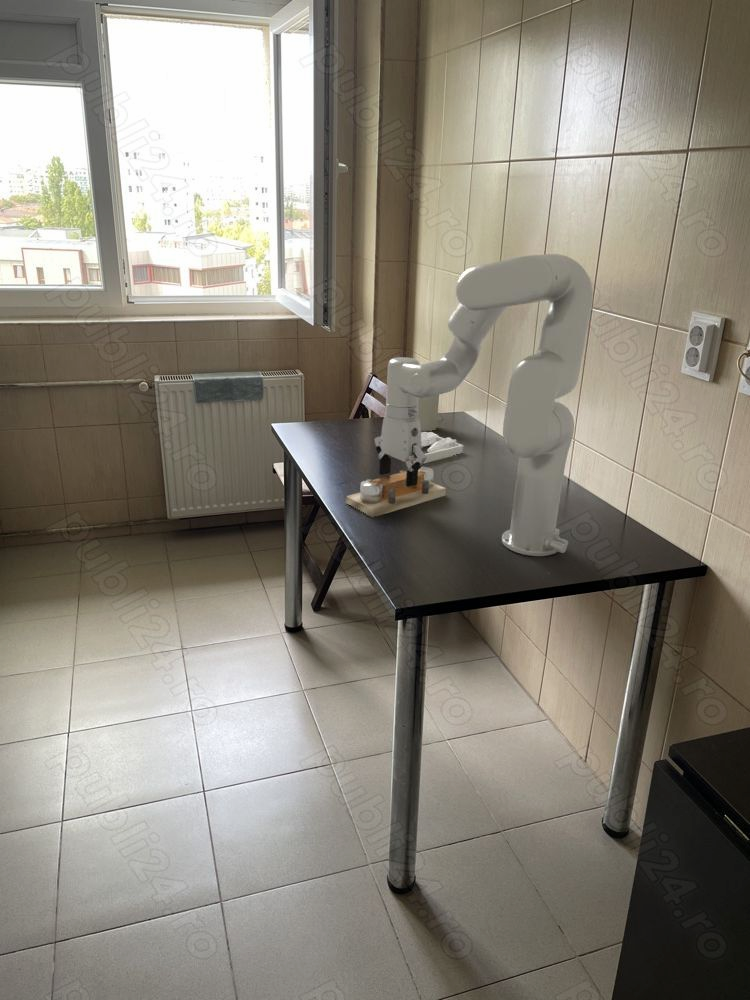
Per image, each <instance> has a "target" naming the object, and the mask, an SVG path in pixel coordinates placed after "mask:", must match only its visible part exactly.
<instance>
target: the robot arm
mask: <svg viewBox="0 0 750 1000" xmlns="http://www.w3.org/2000/svg"><path fill="white" fill-rule="evenodd" d="M455 288H456V289H455V292H456V293H455V294H456V298H457V301H458V305H457V307H456V308H455V309H454V311H453V313H452V314H451V315H450V316H449V318H448V321H447V328H448V329H449V332H450V333H451V334H452V335H453V337H454V338H453V340H452V343H451V345H450V346H449V348H448V350H447V351H445V353H444V355H443V356H442V358H441V359H440V360H439V359H438V360H436V361H431V362H428V363H427V362H426V363H422V364H420V361H419V360H418V359H415V358H413V357H408V356H407V357H406V356H404V357H403V356H402V357H401V356H399V357H394V358H391V359H389V361H388V364H387V374H386V377H387V378H386V397H385V401H386V402H385V414H384V416H383V420H382V424H381V425H382V426H381V431H380V432H381V433H380V434H381V435H380V436H377V437H375V438H374V443H375V449H376V452H377V457H378V459H379V469H378V471H379V473H378V474H379V476H380V475H381V476H383V475H387V474H390V473H391V469H392V468H391V467H392V458H394V459H397V460H399V461H401V462H404V463H405V464H406V467H407V468H408V470H406V471H407V474H406V486H407V487H410V486H413V485H416V484H417V480H418V470H419V469H420V468H421V467H424V464H425V463H424V462H425V460H426V455H425V454H426V453H425V452H423V450H422V448H421V433H422V431H421V427H420V421H419V419H417V417H418V415H419V412H418V398H422V399H426V398H431V397H434V396H437V395H439V396H440V395H442V394H446V393H447V394H448V393H450V392H453V391H454V390H455V389H457V388H458V387H459V386H460V385H461V384H462V383H463V382H464V380H465V379H466V377H468V375H469V373H471V371H472V370H473V368H474V366H475V365H476V363H477V362H478V359H479V355H480V352H481V348H482V347H481V346H482V342H483V341H484V339H485V338H486V336H487V335H488V334H489V332H490V331H491V329H492V328H493V327H494V325H495V324H496V322H497V321H498V320H499V318H500V317H501V316H502V314H503V313H504V312H505V310H506V309H507V307H513V306H519V305H520V306H521V305H528V304H534V303H540V302H545V301H548V302H549V306H548V310H547V313H546V315H545V317H544V320H543V322H542V326H541V334H540V339H539V344H538V349H537V351H536V352H535V353H534V354H530V355H528V356H525V358H523V359H522V360H520V362H518V364H517V365H516V366H515V367H514V369H513V372H512V375H511V377H510V382H509V386H508V390H507V391H508V392H507V397H506V398H507V399H506V406H505V411H504V417H503V423H502V425H503V427H502V437H503V441H504V445H505V446H506V448H507V450H508V451H509V452H510V453H511V454H512V455H513V456H515V457H517V458H519V459H518V463H517V469H516V470H517V471H516V477H515V478H516V479H515V485H514V487H515V488H514V492H513V493H514V495H513V500H512V501H513V502H512V503H513V504H512V510H511V517H510V519H511V521H510V526H509V528H510V529H507V530H505V531H504V532H503V533H502V535H501V543H502V545H504V547H505V548H506V549H508V550H510V551H512V552H514V553H518V554H519V555H526V556H530V557H531V556H532V557H546V556H551V555H554V554H556V553H558V552H559V553H562V554H564V553H566V551H567V548H568V545H569V540H567V539H564V538H561V537H560V530H561V529H559V528H557V520H558V514H559V508H560V507H559V506H560V499H561V494H562V486H563V481H564V475H565V468H566V463H567V457H568V455H569V454H568V453H569V451H570V448H571V445H572V441H573V437H574V432H575V431H574V430H575V420H574V416H573V415H572V412H571V411H570V409H569V408H568V407H567V406H566V404H563V403H562V402H560V401H556V400H558V399H559V398H563V397H564V396H566V395H567V394H569V393H571V392H572V391H573V390H574V388H576V386H577V384H578V381H579V377H580V370H581V366H582V360H583V354H584V348H585V344H586V338H587V331H588V326H589V322H590V318H591V312H592V307H593V299H594V295H593V293H594V292H593V285H592V282H591V279H590V276H589V274H588V272H587V271H586V270H585V268H584V267H583V266H582V265H581V264H580V263H579V262H577V260H575V259H574V258H572V257H569V256H568V255H563V254H558V253H557V254H556V253H545V254H534V255H533V254H532V255H523V256H519V257H514V258H508V259H504V260H499V261H496V262H490V263H489V262H488V263H486V264H485V263H484V264H479V265H474V266H471V267H469V268H467V269H465V271H463V273H461V275H460V277H459V278H458V280H457V282H456V287H455ZM409 456H410V457H411V458H409ZM417 459H418V460H417Z"/></svg>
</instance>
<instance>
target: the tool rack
mask: <svg viewBox="0 0 750 1000" xmlns="http://www.w3.org/2000/svg"><path fill="white" fill-rule="evenodd" d="M405 471H406V470H399V473H401V472H405ZM367 480H373V479H371V478H366V480H365V481H367ZM446 492H447V488H446V487H444V486H442V485H439V484H437V483H434V482H433V486H432V488H429V481H428V480H423V482H422V489H421V490H418V491H415V492H411V493H408V494H404V495H401V496H397V497H395V494H396V490H393V489H390V490H389V498H388V499H387V500H383V501H381V502H380V503H377V504H367V503H363V502H361V501H360V492H357V493H352V494H349V495H346V496H345V504H346V503H347V504H349V505H351V506H353V507H354V508H353V507H352V508H353V509H355V508H356V509H355V510H357V509H358V510H357V511H359V510H360V511H359V512H361V511H362V512H361V513H363V512H364V513H363V514H365V513H366V514H365V515H366V516H369V517H371V518H372V517H373V518H375V516H376V517H378V516H382V515H386V514H390V513H392V512H396V511H398V510H402V509H405V508H409V507H413V506H415V505H418V504H422V503H425V502H429V501H433V500H436V499H438V498H442V497H446ZM347 504H346V505H347ZM349 505H348V506H349ZM351 506H350V507H351Z"/></svg>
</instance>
